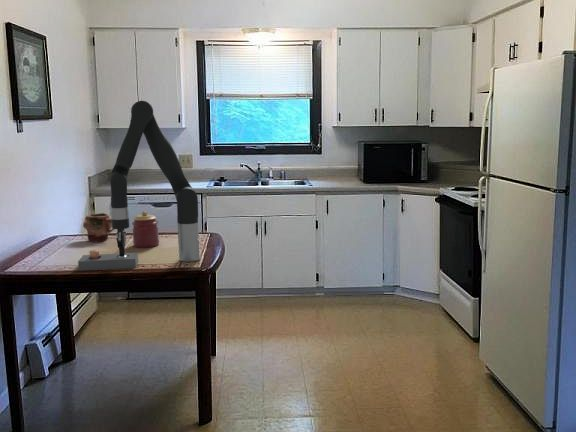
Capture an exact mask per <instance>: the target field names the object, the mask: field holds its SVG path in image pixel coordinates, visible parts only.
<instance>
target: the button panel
mask: <svg viewBox="0 0 576 432" xmlns="http://www.w3.org/2000/svg"><path fill="white" fill-rule="evenodd" d="M125 255H127V257H123V258H118V256H119V253H105V254H104V253H103V254H100V253H99V258H96V259H91V258H90V254H83V255H82V256H81V257H80V258H79V260H78V261H77V265H78V271H97V270H98V271H99V270H117V269H133V268H134V269H135V268H137V266H138V263H139V252H125Z"/></svg>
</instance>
